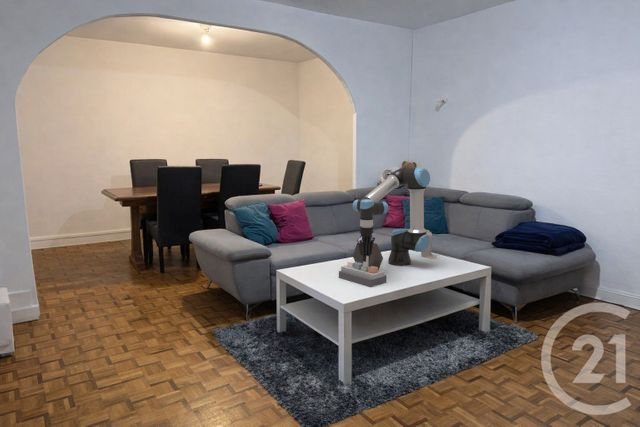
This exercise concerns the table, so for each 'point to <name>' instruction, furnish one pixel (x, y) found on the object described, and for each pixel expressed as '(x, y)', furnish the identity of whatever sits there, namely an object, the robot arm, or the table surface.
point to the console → (362, 276)
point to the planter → (374, 258)
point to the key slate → (358, 265)
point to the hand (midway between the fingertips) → (365, 266)
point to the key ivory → (351, 264)
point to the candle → (428, 251)
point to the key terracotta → (373, 269)
